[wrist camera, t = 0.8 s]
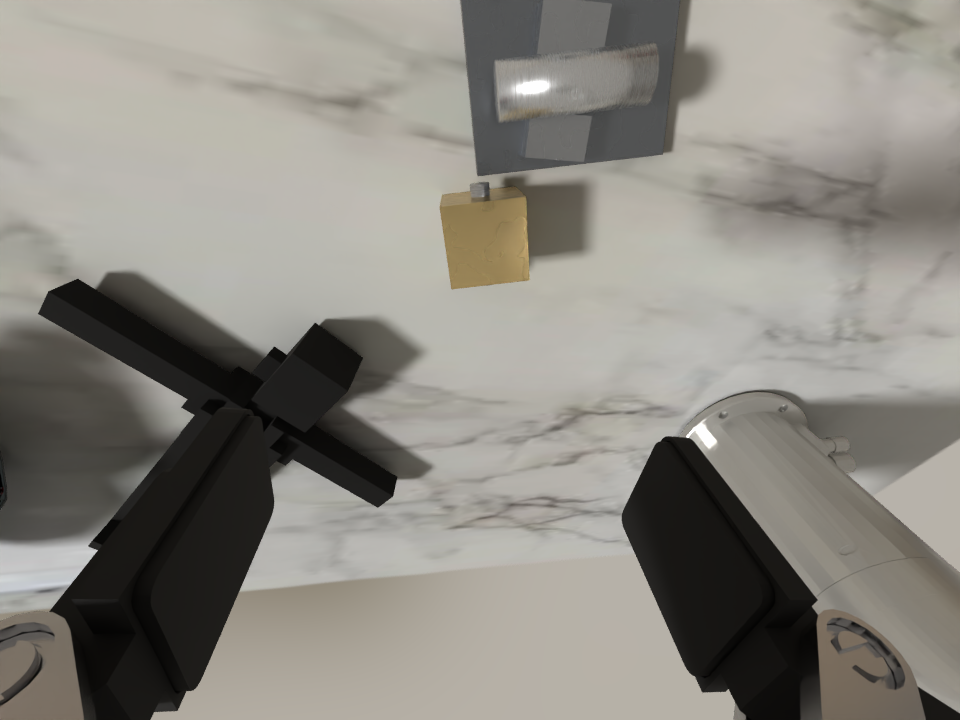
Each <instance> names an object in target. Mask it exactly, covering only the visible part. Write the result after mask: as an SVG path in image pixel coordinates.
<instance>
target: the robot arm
mask: <svg viewBox="0 0 960 720" xmlns="http://www.w3.org/2000/svg"><path fill="white" fill-rule="evenodd" d="M849 449H850V444H849V441H848V440H847V439H846V438H845V437H843V436H840V437H831V438H826V439H820V438H818V437H817V436H815V435H814V434H813V433H812V432H811V431H810V430H808V422H807V419H806V416H805V414H804V413H803V412H802V410H801V409H800V408H799V407H798V406H797V405H795V404H794V403H793V402H792V401H790V400H789V399H787V398H785V397H783V396H781V395H777V394H773V393H767V392H754V393H745V394H741V395H737V396H733V397H730V398H727V399H725V400H722V401H720V402H718V403H716V404H714V405H712V406H711V407H709V408H707V409H705V410H704V411H703V412H701V413H700V414H699V415H697V416H696V417H695V418H694V419H693V420H692V421H691V422H690V423H689V424H688V425H687V426H686V427H685V429H684V430H683V431H682V433H681V434H680V435H679V437H670V436H668V437H664V438H663V439H662V440H661V442H658V443H656V445H655V446H654V448H653V450H652V452H651V455H650V457H649V459H648V461H647V463H646V465H645V467H644V469H643V471H642V473H641V475H640V477H639V479H638V481H637V483H636V485H635V487H634V490H633V492H632V494H631V496H630V498H629V500H628V502H627V504H626V506H625V508H624V510H623V513H622V524H623V527H624V530H625V532H626V534H627V536H628V539H629V541H630V543H631V545H632V548H633V550H634V552H635V554H636V557H637V559H638V561H639V563H640V566H641V568H642V570H643V572H644V575H645V577H646V579H647V581H648V584H649V586H650V588H651V590H652V593H653V595H654V597H655V599H656V602H657V604H658V606H659V608H660V611H661V613H662V615H663V617H664V619H665V622H666V624H667V627H668V629H669V631H670V633H671V635H672V638H673V640H674V642H675V644H676V646H677V649H678V651H679V653H680V656H681V658H682V660H683V662H684V665H685V667H686V668H687V670H688V671H689V673H690V674H692V675H693V676H695V677H696V680H697V682H698V684H699V686H700V688H701V691H702V692H726V691H727V690H728V689H729V691H730V692H731V695H732V697H733V699H734V700H735V710H734V720H960V572H958V571H957V570H956V569H955V568H954V567H953V566H952V565H950V564H949V563H947V562H946V561H945V560H944V559H943V558H942V557H941V556H940V555H938V554H937V553H936V552H935V551H934V550H933V549H932V548H930V547H929V546H928V545H927V544H926V543H925V542H923V540H921V539H920V538H919V537H918V536H917V535H916V534H915V533H913V532H912V531H911V530H910V529H909V528H908V527H907V526H906V525H904V524H903V523H902V522H901V521H900V520H899V519H898V518H896V517H895V516H894V515H893V514H892V513H891V512H889V511H888V510H887V509H886V508H885V507H884V506H883V505H881V504H880V503H879V502H878V501H877V500H876V499H875V498H874V497H873V496H871V495H870V494H869V493H868V492H867V491H866V490H865V489H863V488H862V487H861V486H860V485H859V484H858V483H857V482H855V481H854V480H853V479H852V478H851V477H850V476H849V475H848V474H846V473H850V472H854V470H855V469H856V463H855V460H854V458H853V457H852V456H851V455H850V454H848V453H846V452H842V451H848V450H849ZM829 452H831V453H830V454H829ZM832 452H839V453H832ZM273 508H274V495H273V489H272V482H271V476H270V470H269V463H268V457H267V450H266V444H265V437H264V431H263V424H262V419H261V418H260V417H259V416H254V414H253V412H252V410H250V409H240V408H225V407H222V408H219V409H218V410H217V411H216V412H215V414H214V415H213V416H212V418H211V419H210V420H209V421H208V423H207V424H206V425H205V427H204V428H203V429H202V430H201V432H200V433H199V434H198V436H197V437H196V438H195V440H194V441H193V442H192V443H191V445H190V446H189V447H188V449H187V450H186V451H185V453H184V454H183V455H182V456H181V458H180V459H179V460H178V462H177V463H176V464H175V465H174V467H173V468H168V469H166V470H164V471H162V472H161V473H160V474H159V475H158V476H157V477H156V478H155V480H154V481H153V482H152V483H151V485H150V486H149V487H148V488H147V490H146V491H145V492H144V493H143V495H142V496H141V497H140V499H139V500H138V501H137V502H136V504H135V505H134V506H133V507H132V509H131V510H130V511H129V512H128V514H127V515H126V516H125V517H124V519H123V520H122V521H121V522H120V524H119V525H118V526H117V527H116V529H115V530H114V531H113V532H112V534H111V535H110V536H109V537H108V539H107V540H106V541H105V542H104V544H103V545H102V546H101V547H100V549H99V550H98V551H97V552H96V554H95V555H94V556H93V557H92V559H91V560H90V561H89V563H88V564H87V565H86V566H85V568H84V569H83V570H82V571H81V573H80V574H79V575H78V576H77V578H76V579H75V580H74V581H73V583H72V584H71V585H70V586H69V588H68V589H67V590H66V591H65V593H64V594H63V595H62V596H61V598H60V599H59V600H58V601H57V603H56V604H55V605H54V606H53V608H52V609H51V610H50V611H49V612H43V611H34V612H29V613H23V614H18V615H14V616H12V617H9V618H6V619H4V620H1V621H0V720H150V719H151V717H152V715H153V713H154V712H163V711H177V710H178V708H179V706H180V704H181V701H182V699H183V697H184V695H185V693H186V691H192V690H194V689H195V688H196V687H197V686H198V684H199V683H200V681H201V679H202V677H203V674H204V672H205V670H206V667H207V665H208V663H209V660H210V658H211V656H212V653H213V651H214V649H215V646H216V644H217V642H218V639H219V637H220V635H221V632H222V630H223V627H224V625H225V623H226V621H227V618H228V616H229V614H230V611H231V609H232V607H233V605H234V602H235V600H236V598H237V595H238V593H239V591H240V588H241V586H242V584H243V581H244V579H245V577H246V574H247V572H248V570H249V567H250V565H251V563H252V560H253V558H254V556H255V553H256V551H257V549H258V546H259V544H260V542H261V539H262V537H263V535H264V532H265V530H266V528H267V525H268V523H269V521H270V518H271V516H272V513H273Z"/></svg>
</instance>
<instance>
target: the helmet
mask: <svg viewBox="0 0 960 720" xmlns="http://www.w3.org/2000/svg"><path fill="white" fill-rule="evenodd" d="M6 500H7V485H6V479H5V472H4V465H3V459H2V455H1V452H0V510H1V508H2V507H3V505H4V503H5V502H6Z"/></svg>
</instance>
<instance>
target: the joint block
mask: <svg viewBox="0 0 960 720" xmlns="http://www.w3.org/2000/svg"><path fill="white" fill-rule="evenodd" d="M440 213H441V220H442V226H443V233H444V240H445V247H446V254H447V261H448V268H449V275H450V282H451V289H458V288H467V287H476V286H484V285H493V284H501V283H510V282H519V281H527V280H530V279H529V255H528V231H527V207H526V196H525V195H524V194H523V193H522V192H521V191H519V190H518V189H517V188H516V187H515V186H513V187H505V188H496V189H489V182H479V183H473V184H470V192H462V193H454V194H445V195H442V198H441V203H440Z"/></svg>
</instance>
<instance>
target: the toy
mask: <svg viewBox="0 0 960 720" xmlns="http://www.w3.org/2000/svg"><path fill="white" fill-rule="evenodd" d="M38 314H39V315H41V316H43V317H44V318H46V319H48V320H50V321H51V322H53V323H55V324H57V325H58V326H60V327H62V328H64V329H65V330H67V331H69V332H71V333H72V334H74V335H76V336H78V337H79V338H81V339H83V340H85V341H87V342H88V343H90V344H92V345H94V346H95V347H97V348H99V349H101V350H102V351H104V352H106V353H108V354H109V355H111V356H113V357H115V358H116V359H118V360H120V361H122V362H123V363H125V364H127V365H129V366H130V367H132V368H134V369H136V370H137V371H139V372H141V373H143V374H144V375H146V376H148V377H150V378H151V379H153V380H155V381H157V382H158V383H160V384H162V385H164V386H165V387H167V388H169V389H171V390H172V391H174V392H176V393H178V394H179V395H181V396H183V397H185V398H186V399H188V400H187V401H186V402H185V403H184V405H183V406H182V407H181V408H183V409H185V410H187V411H189V412H190V413H192V414H194V415H195V416H194V417H193V418H192V419H191V421H190V422H189V423H188V424H187V425H186V427H185V428H184V429H183V430H182V432H181V434H180V435H179V437H178V438H177V439H176V440H175V441H174V443H173V444H172V445H171V446H170V448H169V449H168V450H167V451H166V453H165V454H164V455H163V456H162V457H161V459H160V460H159V461H158V462H157V464H156V465H155V466H154V467H153V469H152V470H151V471H150V472H149V474H148V475H147V476H146V477H145V478H144V480H143V481H142V482H141V483H140V485H139V486H138V487H137V488H136V490H135V491H134V492H133V493H132V494H131V496H130V497H129V498H128V499H127V501H126V502H125V503H124V504H123V506H122V507H121V508H120V509H119V510H118V512H117V513H116V514H115V515H114V517H113V518H112V519H111V520H110V521H109V523H108V524H107V525H106V526H105V527H104V528H103V529H102V530H101V532H100V533H99V534H98V535H97V536H96V537H95V538H94V539H93V541H92V542H91V543H90V544H89V547H91V548H94V549H96V550H99V549H100V547H101V546H102V545H103V544H104V542H105V541H106V540H107V539H108V537H109V536H110V535H111V534H112V532H113V531H114V530H115V529H116V527H117V526H118V525H119V524H120V522H121V521H122V520H123V519H124V517H125V516H126V515H127V514H128V512H129V511H130V510H131V509H132V507H133V506H134V505H135V504H136V502H137V501H138V500H139V499H140V497H141V496H142V495H143V493H144V492H145V491H146V490H147V488H148V487H149V486H150V485H151V483H152V482H153V481H154V480H155V478H156V477H157V476H158V475H159V474H160V473H161V472H162V471H164V470H166V469H168V468H173V467H174V465H175V464H176V463H177V462H178V460H179V459H180V458H181V456H182V455H183V454H184V453H185V451H186V450H187V449H188V447H189V446H190V445H191V443H192V442H193V441H194V440H195V438H196V437H197V436H198V434H199V433H200V432H201V430H202V429H203V428H204V427H205V425H206V424H207V423H208V421H209V420H210V419H211V418H212V416H213V415H214V414H215V412H216V411H217V410H218V409H219V408H222V407H225V408H240V409H250V410H252V412H253V414H254V416H259V417H260V418H261V419H262V424H263V431H264V437H265V444H266V450H267V457H268V463H269V467H270V466H271V465H272V464H273V463H274V462H275V461H278V462H280V463H282V464H283V465H287V464H288V463H289V462H290V461H291V460H292V459H293V460H295V461H297V462H299V463H300V464H302V465H304V466H306V467H307V468H309V469H311V470H313V471H314V472H316V473H318V474H320V475H321V476H323V477H325V478H327V479H328V480H330V481H332V482H334V483H335V484H337V485H339V486H341V487H342V488H344V489H346V490H348V491H350V492H351V493H353V494H355V495H357V496H358V497H360V498H362V499H364V500H365V501H367V502H369V503H371V504H372V505H374V506H376V507H380V506H381V505H382V504H383V503H385V502H386V501H387V500H389V499H390V498H391V497H393V494H394V490H395V485H396V481H397V476H395V475H393V474H392V473H390V472H388V471H387V470H385V469H384V468H382V467H380V466H379V465H377V464H376V463H374V462H372V461H371V460H369V459H368V458H366V457H364V456H363V455H361V454H359V453H358V452H356V451H355V450H353V449H351V448H350V447H348V446H347V445H345V444H343V443H342V442H340V441H338V440H337V439H335V438H334V437H332V436H330V435H329V434H327V433H326V432H324V431H322V430H321V429H319V428H318V427H316V426H314V425H313V424H315V423H316V422H317V421H318V420H319V419H320V418H321V417H322V416H323V415H324V414H325V413H326V412H327V411H328V410H329V409H330V408H331V407H332V406H333V405H334V404H335V403H336V402H337V401H338V400H339V399H340V398H341V397H342V396H343V395H344V394H345V393H346V392H347V391H348V390H349V387H350V385H351V383H352V381H353V379H354V376H355V374H356V372H357V370H358V368H359V365H360V363H361V361H362V359H363V357H361V356H360V355H358V354H357V353H356V352H354V351H353V350H352V349H350V348H349V347H348V346H346V345H345V344H343V343H342V342H341V341H339V340H338V339H337V338H335V337H334V336H333V335H331V334H330V333H328V332H327V331H326V330H324V329H323V328H322V327H320V326H319V325H318V324H316V323H314V325H313V326H312V327H311V328H310V329H309V330H308V331H307V333H306V334H305V335H304V336H303V337H302V338H301V339H300V341H299V342H298V343H297V344H296V345H295V346H294V347H293V349H292V350H291V351H290V352H289V353H288V354H287V355H286V354H285V353H283V352H282V351H280V350H279V349H277V348H276V347H273V349H272V350H271V351H270V352H269V353H268V355H267V356H266V357H265V358H264V359H263V360H262V362H261V363H260V364H259V365H258V366H257V368H256V369H255V370H254V371H253V372H252V374H254V375H255V376H257V377H259V378H260V379H262V380H263V381H264V382H263V381H262V380H260V379H258V378H257V377H255V376H254V375H252V374H250V373H248V372H247V371H245V370H244V369H242V368H240V367H239V366H238V367H237V368H236V369H235V370H234V371H233V372H232V373H229V372H227V371H226V370H224V369H222V368H221V367H219V366H218V365H216V364H214V363H213V362H211V361H210V360H208V359H206V358H205V357H203V356H202V355H200V354H198V353H197V352H195V351H193V350H192V349H190V348H189V347H187V346H185V345H184V344H182V343H181V342H179V341H177V340H176V339H174V338H173V337H171V336H169V335H168V334H166V333H164V332H163V331H161V330H160V329H158V328H156V327H155V326H153V325H152V324H150V323H148V322H147V321H145V320H144V319H142V318H140V317H139V316H137V315H135V314H134V313H132V312H131V311H129V310H127V309H126V308H124V307H123V306H121V305H119V304H118V303H116V302H115V301H113V300H111V299H110V298H108V297H106V296H105V295H103V294H102V293H100V292H98V291H97V290H95V289H94V288H92V287H90V286H89V285H87V284H86V283H84V282H82V281H81V280H79V279H76V280H74V281H71V282H69V283H67V284H65V285H62V286H60V287H58V288H55V289H53V290H51V291H48V294H47V296H46V298H45V300H44V302H43V304H42V307H41V309H40V311H39V313H38Z"/></svg>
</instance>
